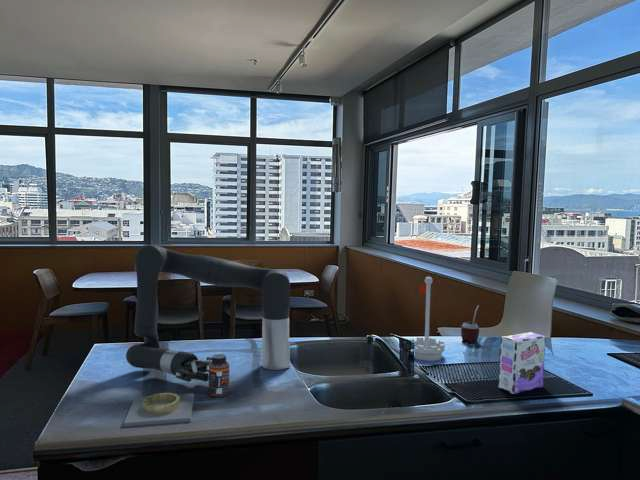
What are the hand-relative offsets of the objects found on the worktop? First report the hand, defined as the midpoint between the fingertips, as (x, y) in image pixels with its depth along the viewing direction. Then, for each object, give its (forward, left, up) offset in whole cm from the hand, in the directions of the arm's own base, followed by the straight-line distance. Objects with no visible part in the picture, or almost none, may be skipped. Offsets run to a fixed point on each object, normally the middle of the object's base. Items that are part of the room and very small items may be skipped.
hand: (218, 373), depth 137 cm
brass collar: (+15, +9, -6) cm, 18 cm away
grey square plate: (+15, +9, -6) cm, 18 cm away
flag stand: (-76, -23, -6) cm, 80 cm away
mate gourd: (-102, -37, -6) cm, 109 cm away
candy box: (-92, +11, -6) cm, 93 cm away
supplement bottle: (0, 0, -6) cm, 6 cm away
